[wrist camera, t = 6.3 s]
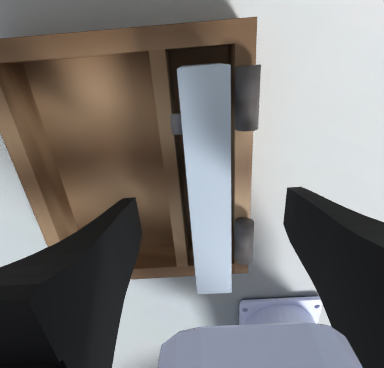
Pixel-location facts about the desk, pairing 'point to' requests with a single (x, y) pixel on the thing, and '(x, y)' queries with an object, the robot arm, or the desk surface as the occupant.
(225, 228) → the door
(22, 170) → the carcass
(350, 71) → the desk surface
